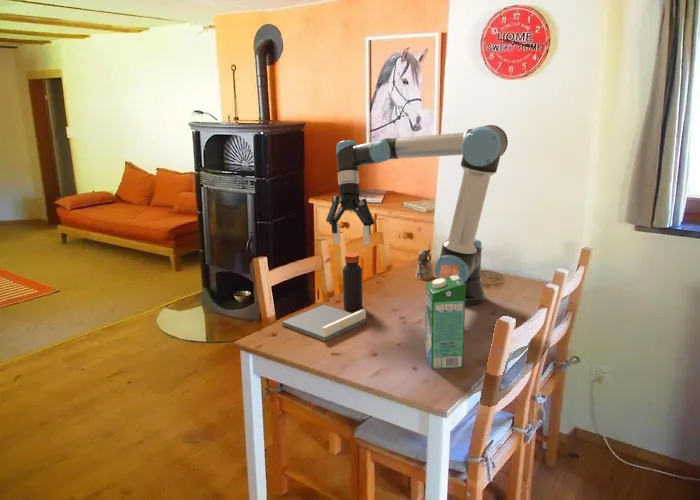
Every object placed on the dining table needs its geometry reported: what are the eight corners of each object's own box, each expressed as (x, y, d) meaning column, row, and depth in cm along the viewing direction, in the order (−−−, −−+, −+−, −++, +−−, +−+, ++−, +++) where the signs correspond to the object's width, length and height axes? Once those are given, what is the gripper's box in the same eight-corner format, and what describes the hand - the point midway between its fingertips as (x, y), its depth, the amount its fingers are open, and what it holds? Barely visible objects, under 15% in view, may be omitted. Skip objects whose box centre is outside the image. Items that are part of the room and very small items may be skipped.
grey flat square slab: (366, 322, 193) (366, 309, 191) (326, 341, 178) (325, 328, 177) (323, 308, 206) (323, 296, 205) (282, 325, 192) (281, 313, 190)
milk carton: (424, 355, 168) (425, 274, 161) (454, 353, 169) (457, 273, 162) (431, 369, 159) (433, 285, 153) (463, 367, 160) (466, 283, 153)
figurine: (413, 275, 240) (413, 248, 237) (428, 273, 242) (429, 246, 239) (419, 280, 234) (419, 252, 231) (435, 278, 235) (435, 251, 232)
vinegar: (340, 307, 206) (338, 254, 201) (354, 303, 210) (353, 251, 205) (351, 313, 201) (350, 258, 196) (366, 308, 205) (365, 255, 200)
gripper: (368, 189, 213) (371, 245, 211) (314, 183, 198) (317, 243, 195) (381, 185, 208) (385, 243, 205) (327, 178, 192) (330, 240, 189)
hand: (352, 243), depth 200 cm, fingers open, 13 cm apart
